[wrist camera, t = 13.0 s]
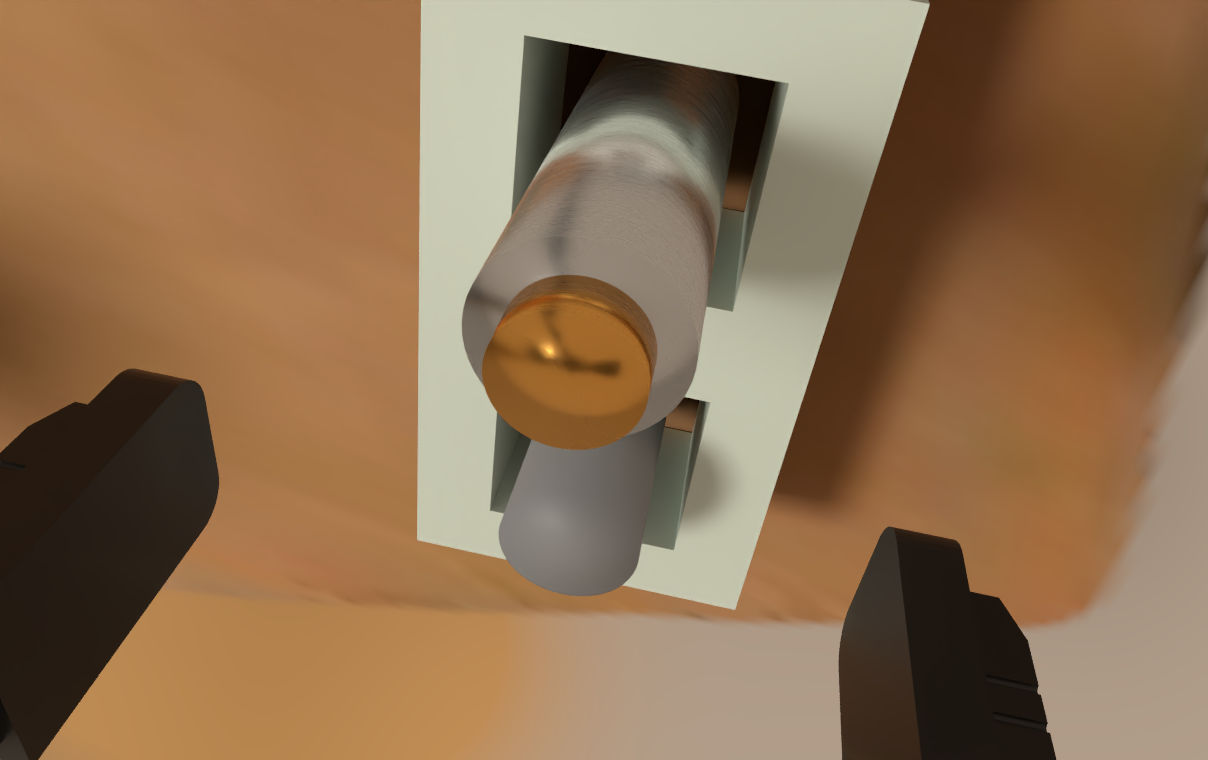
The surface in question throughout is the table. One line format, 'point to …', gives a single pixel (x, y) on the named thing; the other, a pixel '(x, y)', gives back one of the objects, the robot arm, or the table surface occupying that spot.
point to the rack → (736, 294)
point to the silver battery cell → (608, 258)
